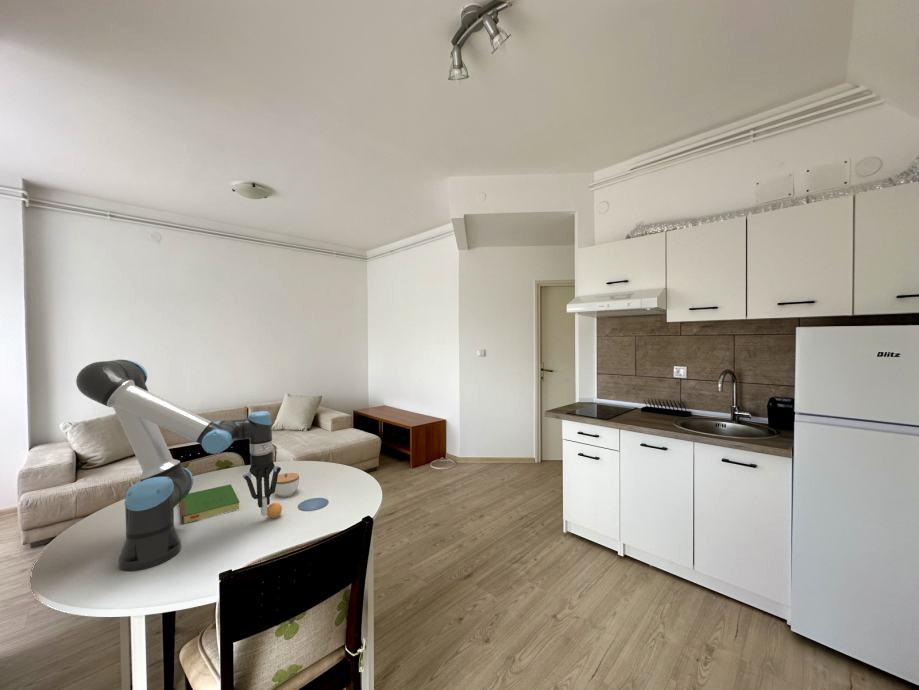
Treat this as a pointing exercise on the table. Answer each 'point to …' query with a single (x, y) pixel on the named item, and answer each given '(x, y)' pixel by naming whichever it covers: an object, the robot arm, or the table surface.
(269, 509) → the ball
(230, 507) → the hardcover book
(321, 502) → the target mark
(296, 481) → the lidded jar
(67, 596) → the table surface
